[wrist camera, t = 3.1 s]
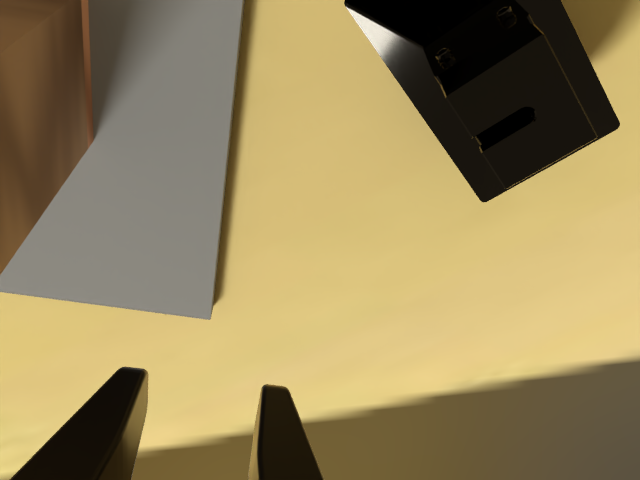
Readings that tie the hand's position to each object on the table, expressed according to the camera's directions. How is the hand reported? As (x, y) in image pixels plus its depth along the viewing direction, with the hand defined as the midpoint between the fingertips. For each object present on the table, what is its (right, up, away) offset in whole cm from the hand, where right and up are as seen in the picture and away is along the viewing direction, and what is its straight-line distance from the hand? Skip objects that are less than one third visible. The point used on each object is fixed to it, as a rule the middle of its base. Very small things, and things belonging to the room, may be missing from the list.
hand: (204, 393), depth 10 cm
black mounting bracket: (+7, +9, +11) cm, 16 cm away
